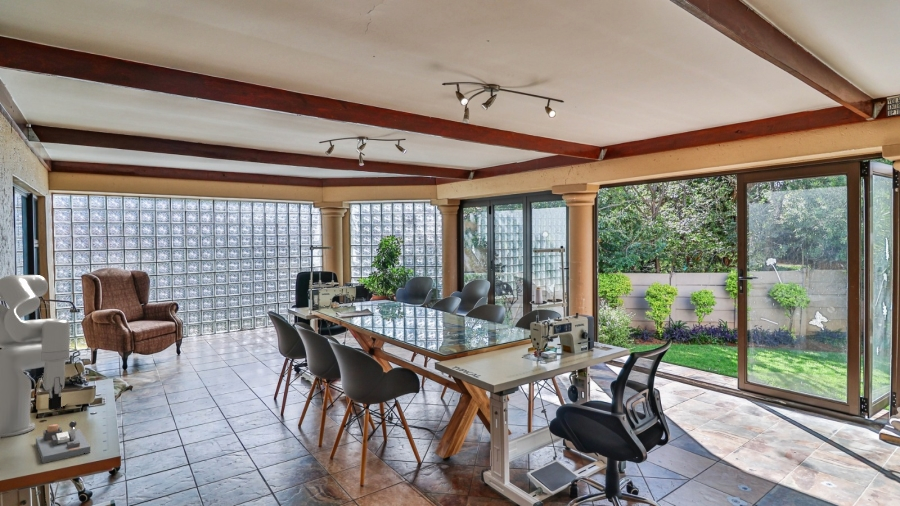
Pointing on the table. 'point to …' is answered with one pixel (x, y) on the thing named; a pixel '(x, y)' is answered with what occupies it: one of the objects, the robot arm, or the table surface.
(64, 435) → the rocker
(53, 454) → the switch panel
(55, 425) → the push button
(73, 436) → the toggle lever
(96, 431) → the table surface
